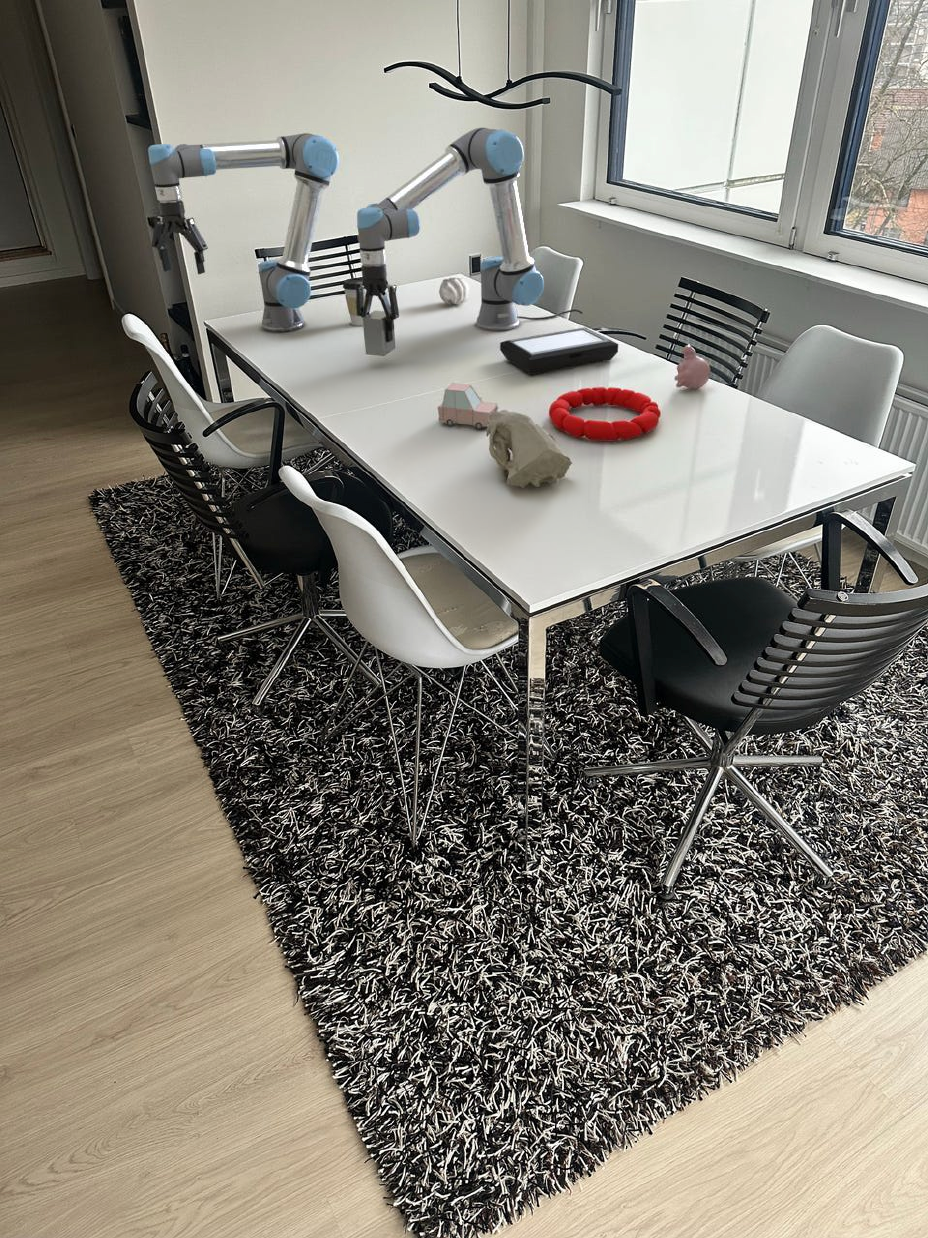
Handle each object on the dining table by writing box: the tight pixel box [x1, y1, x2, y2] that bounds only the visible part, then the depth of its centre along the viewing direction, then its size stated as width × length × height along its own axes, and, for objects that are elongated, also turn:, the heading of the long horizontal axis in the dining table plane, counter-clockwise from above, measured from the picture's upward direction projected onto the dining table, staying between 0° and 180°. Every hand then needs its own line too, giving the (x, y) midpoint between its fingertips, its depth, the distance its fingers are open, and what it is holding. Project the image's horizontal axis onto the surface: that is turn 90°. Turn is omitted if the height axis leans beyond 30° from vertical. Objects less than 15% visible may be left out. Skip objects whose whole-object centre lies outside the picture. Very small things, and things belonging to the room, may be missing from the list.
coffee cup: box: [342, 277, 366, 327], centre depth 323 cm, size 10×10×15 cm
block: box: [362, 310, 396, 357], centre depth 282 cm, size 6×8×12 cm
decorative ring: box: [548, 386, 661, 442], centre depth 242 cm, size 7×30×30 cm
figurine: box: [674, 344, 711, 390], centre depth 259 cm, size 9×11×12 cm
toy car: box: [437, 382, 499, 431], centre depth 243 cm, size 9×15×10 cm, turn 70°
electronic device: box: [499, 326, 619, 376], centre depth 285 cm, size 32×6×20 cm
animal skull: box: [485, 409, 573, 489], centre depth 216 cm, size 17×25×20 cm
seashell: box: [438, 277, 470, 305], centre depth 341 cm, size 10×15×10 cm
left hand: (184, 271), depth 290 cm, fingers open, 13 cm apart
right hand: (379, 339), depth 283 cm, fingers closed on block, 6 cm apart
